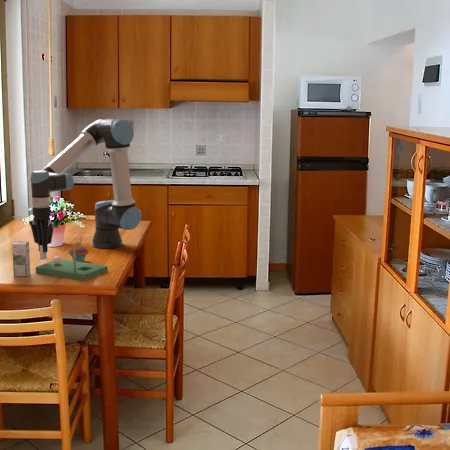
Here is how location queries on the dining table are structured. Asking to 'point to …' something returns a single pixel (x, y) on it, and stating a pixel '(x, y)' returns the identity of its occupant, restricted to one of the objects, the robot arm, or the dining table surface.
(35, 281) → the dining table surface
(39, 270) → the putting mat
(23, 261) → the syrup box
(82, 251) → the cupcake
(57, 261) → the ball
